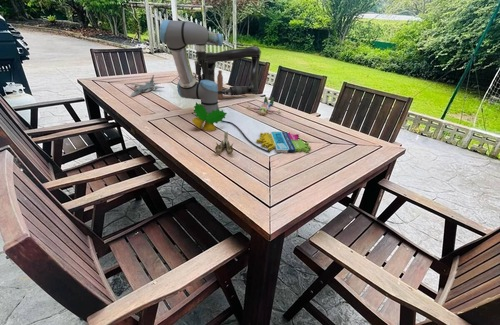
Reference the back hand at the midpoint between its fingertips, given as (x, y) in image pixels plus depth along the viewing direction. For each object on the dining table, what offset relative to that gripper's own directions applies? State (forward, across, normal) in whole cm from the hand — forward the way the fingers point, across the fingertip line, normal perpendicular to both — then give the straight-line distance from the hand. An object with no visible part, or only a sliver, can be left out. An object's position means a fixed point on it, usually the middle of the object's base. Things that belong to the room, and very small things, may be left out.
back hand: (216, 91), depth 220 cm
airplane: (+54, -35, +6) cm, 65 cm away
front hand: (+14, +6, -9) cm, 18 cm away
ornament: (+25, +62, +6) cm, 68 cm away
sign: (-9, +95, +6) cm, 95 cm away
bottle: (-3, 0, +6) cm, 7 cm away
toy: (-28, +37, +6) cm, 47 cm away
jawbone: (+27, +95, +6) cm, 99 cm away
